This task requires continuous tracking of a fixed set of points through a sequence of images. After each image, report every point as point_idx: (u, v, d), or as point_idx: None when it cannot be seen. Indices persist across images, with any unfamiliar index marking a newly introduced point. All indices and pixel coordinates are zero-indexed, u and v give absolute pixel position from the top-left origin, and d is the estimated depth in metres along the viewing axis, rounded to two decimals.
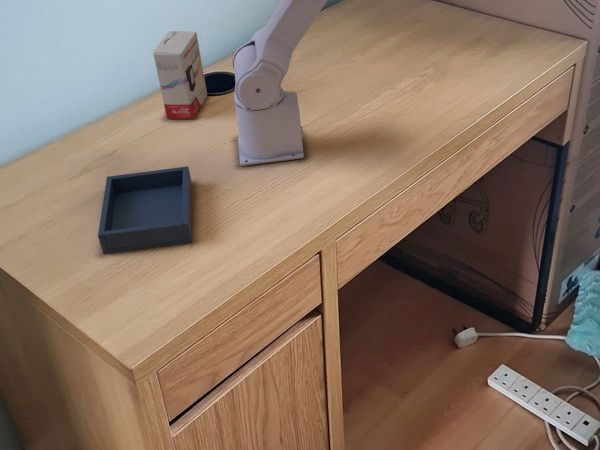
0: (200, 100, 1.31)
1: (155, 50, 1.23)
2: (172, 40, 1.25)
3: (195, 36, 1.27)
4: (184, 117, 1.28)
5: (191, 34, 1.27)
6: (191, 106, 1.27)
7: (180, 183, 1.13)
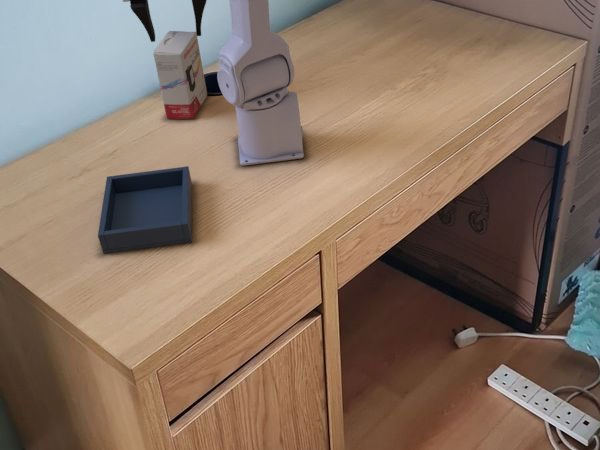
0: (200, 100, 1.31)
1: (155, 50, 1.23)
2: (172, 40, 1.25)
3: (195, 36, 1.27)
4: (184, 117, 1.28)
5: (191, 34, 1.27)
6: (191, 106, 1.27)
7: (180, 183, 1.13)
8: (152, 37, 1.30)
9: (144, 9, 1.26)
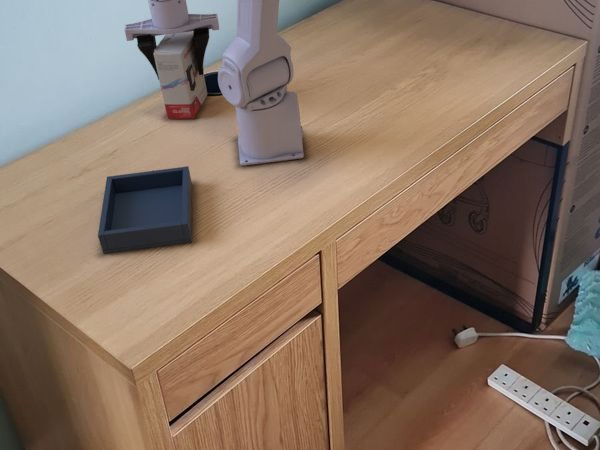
0: (200, 100, 1.31)
1: (155, 50, 1.23)
2: (172, 40, 1.25)
3: None
4: (185, 117, 1.28)
5: (191, 34, 1.27)
6: (191, 105, 1.27)
7: (180, 183, 1.13)
8: None
9: (151, 48, 1.23)
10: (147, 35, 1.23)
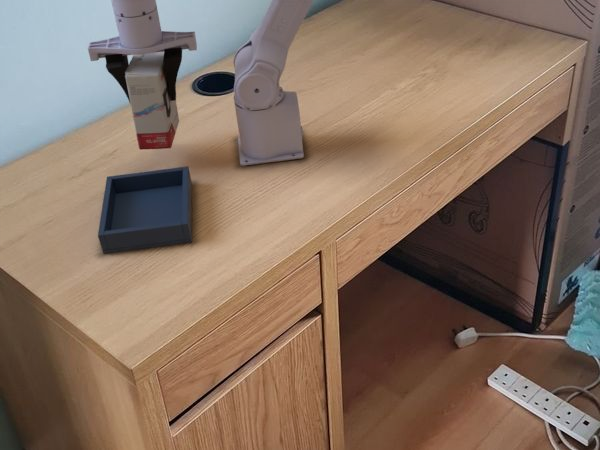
0: (174, 127, 1.16)
1: (127, 72, 1.07)
2: (143, 60, 1.10)
3: None
4: (160, 147, 1.13)
5: (163, 53, 1.12)
6: (168, 134, 1.12)
7: (180, 183, 1.13)
8: None
9: (122, 69, 1.07)
10: (117, 54, 1.08)
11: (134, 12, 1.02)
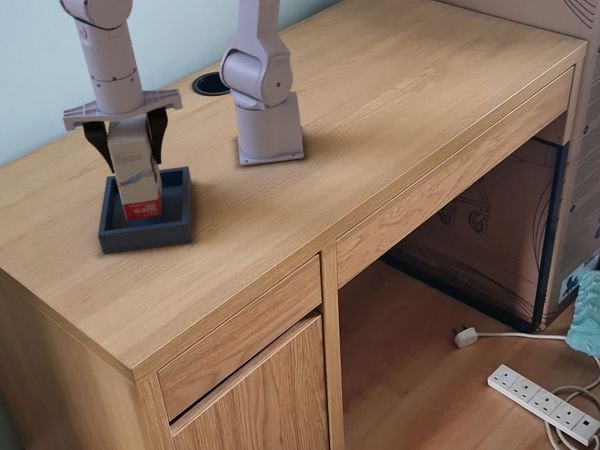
0: (160, 191, 1.06)
1: (109, 140, 0.97)
2: (123, 124, 1.00)
3: None
4: (150, 216, 1.03)
5: None
6: (158, 201, 1.02)
7: (180, 183, 1.13)
8: None
9: (103, 138, 0.97)
10: (96, 121, 0.97)
11: (127, 71, 0.93)
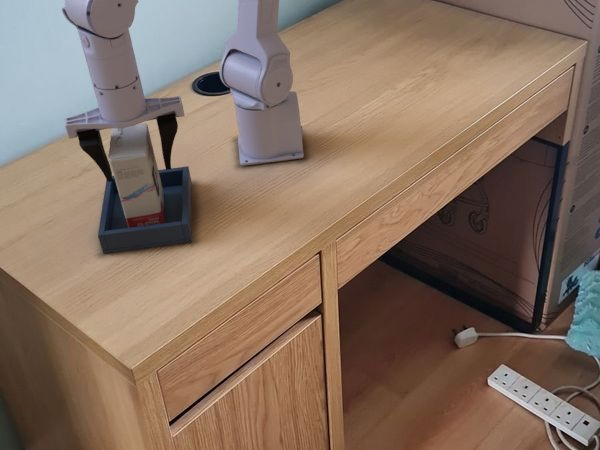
0: (163, 203, 1.08)
1: (111, 156, 0.98)
2: (124, 139, 1.01)
3: (148, 129, 1.04)
4: None
5: (143, 127, 1.03)
6: (161, 214, 1.03)
7: (180, 183, 1.13)
8: (109, 177, 1.02)
9: (98, 146, 0.97)
10: (91, 130, 0.98)
11: (129, 79, 0.94)
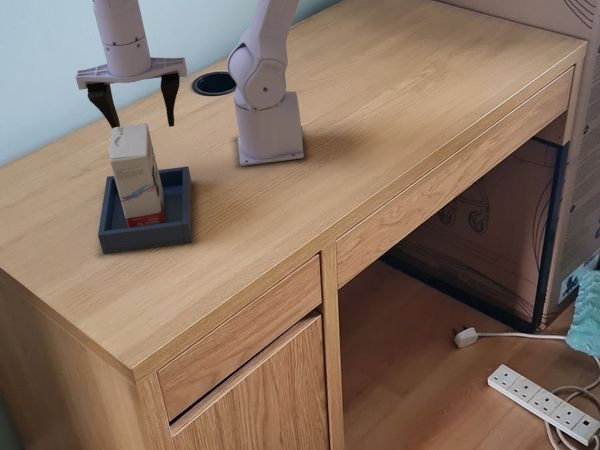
0: (163, 203, 1.08)
1: (111, 156, 0.98)
2: (124, 139, 1.01)
3: (148, 129, 1.04)
4: None
5: (143, 127, 1.03)
6: (161, 214, 1.03)
7: (180, 183, 1.13)
8: None
9: (104, 99, 1.05)
10: (99, 83, 1.05)
11: (127, 39, 1.00)
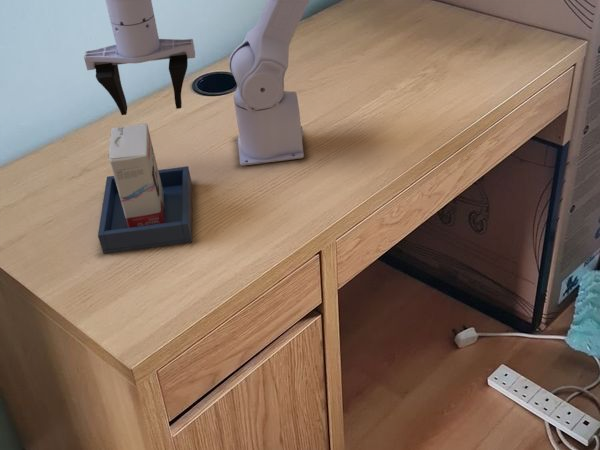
0: (163, 203, 1.08)
1: (111, 156, 0.98)
2: (124, 139, 1.01)
3: (148, 129, 1.04)
4: None
5: (143, 127, 1.03)
6: (161, 214, 1.03)
7: (180, 183, 1.13)
8: (123, 110, 1.09)
9: (112, 79, 1.05)
10: (107, 64, 1.06)
11: (134, 19, 1.00)
